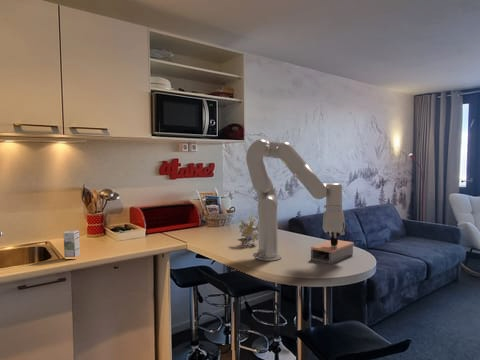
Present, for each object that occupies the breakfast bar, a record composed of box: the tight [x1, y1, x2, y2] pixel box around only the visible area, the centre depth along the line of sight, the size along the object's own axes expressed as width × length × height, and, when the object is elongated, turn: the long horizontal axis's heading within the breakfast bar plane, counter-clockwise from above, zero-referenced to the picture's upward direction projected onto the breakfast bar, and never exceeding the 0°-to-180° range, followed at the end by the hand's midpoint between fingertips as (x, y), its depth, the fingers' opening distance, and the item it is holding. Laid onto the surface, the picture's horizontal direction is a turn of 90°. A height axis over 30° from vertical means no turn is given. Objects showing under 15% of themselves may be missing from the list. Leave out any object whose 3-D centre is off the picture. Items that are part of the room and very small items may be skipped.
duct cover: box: [310, 239, 355, 253], centre depth 169 cm, size 22×12×1 cm, turn 135°
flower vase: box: [238, 215, 259, 248], centre depth 206 cm, size 13×18×25 cm
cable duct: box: [310, 245, 354, 265], centre depth 170 cm, size 22×11×5 cm, turn 135°
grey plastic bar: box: [321, 252, 329, 259], centre depth 170 cm, size 18×2×2 cm, turn 135°
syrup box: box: [62, 229, 81, 258], centre depth 176 cm, size 6×6×14 cm
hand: (334, 245), depth 166 cm, fingers closed
